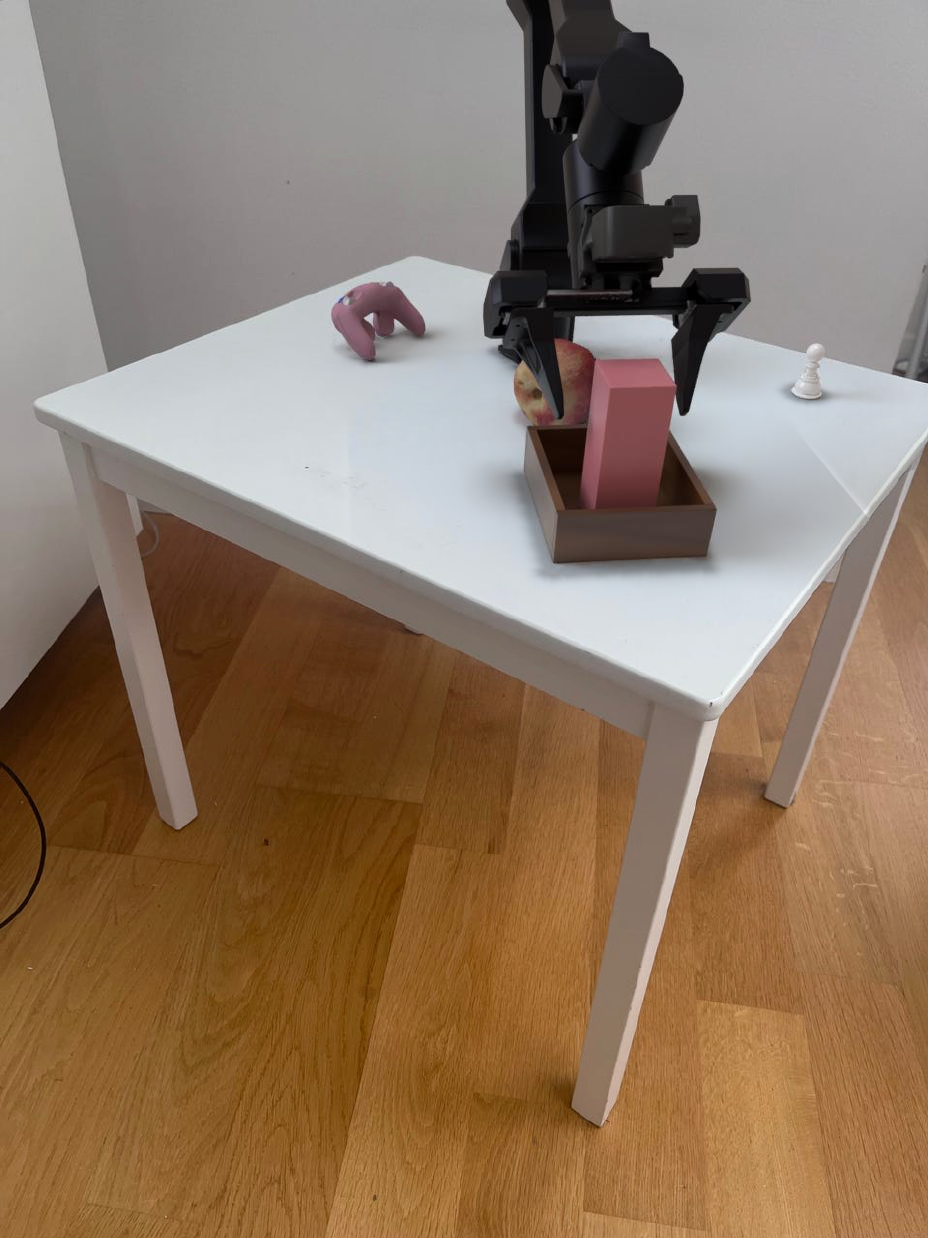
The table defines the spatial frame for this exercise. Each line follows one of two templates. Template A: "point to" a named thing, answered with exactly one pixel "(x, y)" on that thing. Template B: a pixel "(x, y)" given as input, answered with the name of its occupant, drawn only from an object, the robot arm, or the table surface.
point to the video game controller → (374, 315)
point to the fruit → (575, 384)
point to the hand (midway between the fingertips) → (622, 415)
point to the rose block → (626, 433)
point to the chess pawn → (810, 374)
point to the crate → (613, 531)
